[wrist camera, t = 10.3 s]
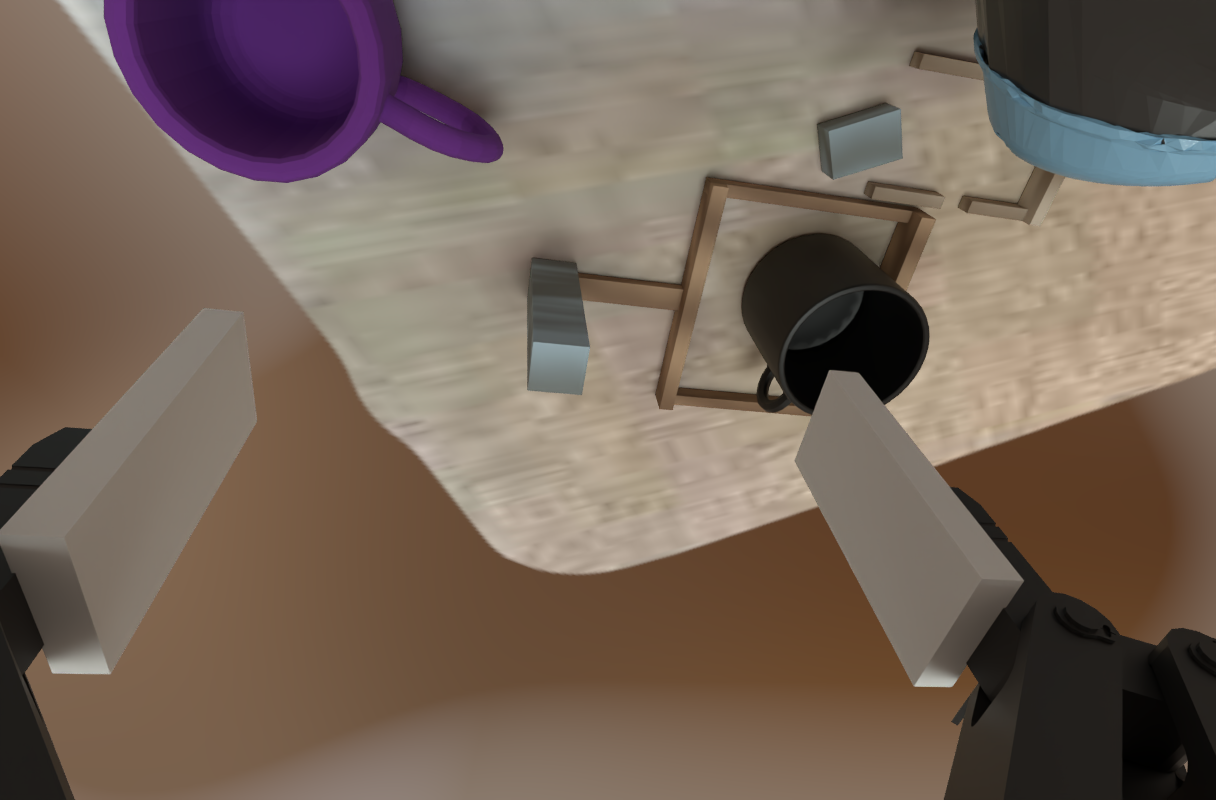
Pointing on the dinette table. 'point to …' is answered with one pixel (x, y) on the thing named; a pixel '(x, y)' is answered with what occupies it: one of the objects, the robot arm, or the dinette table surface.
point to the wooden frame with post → (682, 294)
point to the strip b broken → (880, 142)
